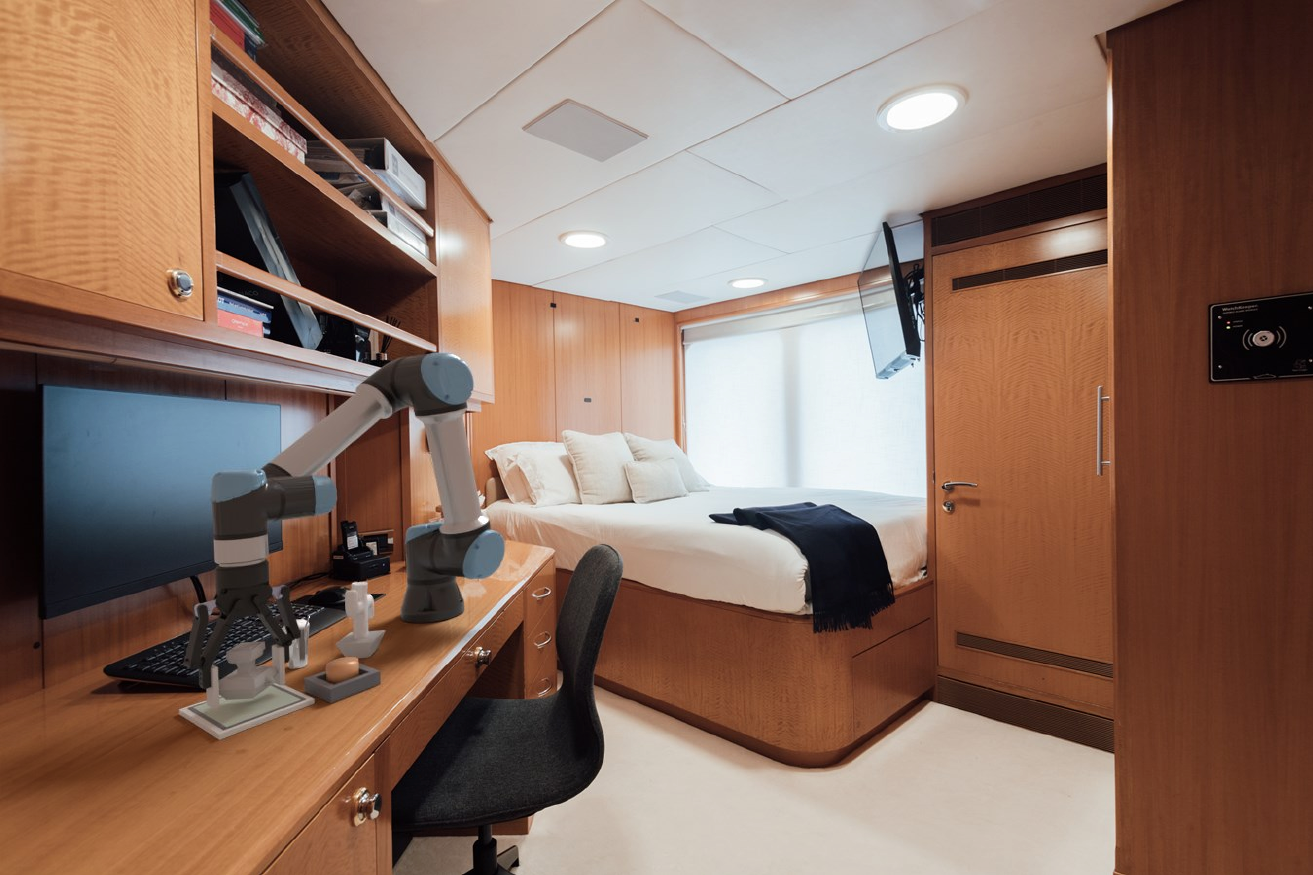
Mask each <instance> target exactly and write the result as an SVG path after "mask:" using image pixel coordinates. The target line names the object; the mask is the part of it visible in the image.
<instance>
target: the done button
mask: <svg viewBox="0 0 1313 875" xmlns="http://www.w3.org/2000/svg"><path fill="white" fill-rule="evenodd" d="M358 663H359V658H356V657H345V656H344V657H340V658H335V659H333V660H331V661H329V662H327V663H326V665H325V671H326V682H329V683H331V684H333V685H335V684H338V683H341V682H343V681H346V680H349V679H352V678H354V677H357V676H359V666H358Z"/></svg>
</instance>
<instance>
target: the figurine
mask: <svg viewBox="0 0 1313 875" xmlns="http://www.w3.org/2000/svg"><path fill="white" fill-rule="evenodd" d="M368 585H369V584H368V582H367V581H359V582H358V581H354V582H352V583H351V589H350V590H347V591H346V592H345V594H344V602H345V608H344V609H345V614H346V616H347V617H348V618H351V619H352V620H353V631H351V632H349V633H348V634H347V635H345V636H344V637H342V638H341V639H340V640H339V641H337V642H336V643H335V646H336V647H337V648H338V649H339V651H340V652H341V654H342V655H343V656H344V657H356V658H358V659H369V658H370V657H371V656H372V655H373V654H375V652H377V651H378V649H379V646H380V644H381V642H382V639H383V637H384V635H385V633H386V630H385V629H383V630H380V629H379V630H369V620H372V619H373V618H374V617H375V600H374V597H373V596H372V595H371V594H370V593H368Z"/></svg>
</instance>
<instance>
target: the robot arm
mask: <svg viewBox="0 0 1313 875" xmlns="http://www.w3.org/2000/svg"><path fill="white" fill-rule="evenodd" d="M474 386H475V385H474V376H473V373H472V371H471V369H470V367H469V366H468V364H467V363H466V362H465V360H463V359H462V358H461V357H459V356H458V355H456V354H454V353H449V352H432V353H427V354H418V355H412V356H410V355H409V356H402V357H398V358H396V359H393V360H392V361H389V362H388V363H386V364H385V365H383V366H382V367H380V368H379V369H378V370H376V371H375V372H373V373H372V374H371V375H370V376H368V377H367V378H366V379H364V380H363V381H362V382H361V383H359V384H358V385H357V386H356V387H355V390H354V392H355V393H354V394H353V395H352V396H350V397H349V398H348V399H347V400H346V401H344V403H342V404H340V405H339V406H338V407H337V408H335V410H333V411H332V412H330V413H329V414H328V415H327V416H326V417H324V418H322V420H321V421H319V422H318V423H317V424H316V425H314V426H313V427H312V428H310V429H309V430H308V431H306V432H305V433H304V434H303V435H301V436H300V437H299V438H297V440H295V441H294V442H293V443H292V444H290V445H289V446H287V447H286V448H285V449H284V450H283V451H281V452H280V453H279V454H278V455H276V456H275V457H274V458H273V459H271V460H270V461H269V462H268V463H266V464H265V465H263V467H261V468H259V469H258V468H257V469H256V468H253V469H252V468H251V469H233V470H222V471H221V470H220V471H217V472H216V473H214V474H213V476H212V479H211V490H210V491H211V492H210V493H211V495H210V496H211V497H210V502H211V509H212V510H211V512H212V527H213V528H212V530H213V556H214V557H213V558H214V563H216V564H217V565H216V566H215V567H214V580H215V582H214V584H215V587H214V588H215V594H214V596H213V599H211V600H209V601H205V602H202V603H200V602H196V603H194V604H193V605H192V614H193V622H192V626H191V630H190V634H189V640H188V644H187V645H186V646H187V647H186V652H185V657H184V660H183V665H184V666H185V667H187V668H189V669H190V670H195V669H197V670H198V679H199V680H198V684H199V687H200V688H202V689H203V690H206V700H207V705H208V706H210V707H212V708H213V709H215V708H218V707H219V696H220V695H219V683H218V681H219V667H218V666H217V665H214V663H215V660H216V658H217V656H218V654H219V652H220V650H221V647H222V646H223V644H224V641H225V640H226V638H227V635H228V633H229V632H230V629H231V628H232V627H233V626H234V624H235V622H236V621H238V620H242V619H244V618H247V617H255V616H257V617H258V619H259V620H260V621H261V623H262V624H263V625H264V626H265V628H266V629H267V631H268V633H269V634H270V635H271V636H272V638H273V639H274V640H275V642H276V644H272V645H271V657H272V658H271V659H272V660H271V661H272V666H275V667H276V668H277V669H278V673H277V675H276V677H275V678H274V679H275V683H276V684H278V685H280V686H281V685H286V671H285V664H288V662H289V659H290V657H289V646H291V644H292V641H293V640H294V639H298V638H299V637H300V636H301V633H300V630H299V627H298V624H297V621H296V620H297V618H296V615H295V612H294V609H293V606H292V603H291V600H290V597H291V588H290V586H288V585H285V584H279V585H277V586H271V584H270V561H269V560H268V559H266V558H268V557H269V537H268V533H269V531H268V529H269V528H268V524H269V523H273V522H274V523H275V522H279V521H280V522H281V521H286V520H287V521H288V520H293V519H303V518H310V517H313V518H315V517H318V516H320V515H325V514H330V512H331V511H333V509H334V508H335V507H336V505H337V501H338V494H337V493H338V491H337V487H336V483H335V482H334V481H333V480H332V478H331V477H329V476H328V475H325V474H324V475H323V474H320V475H319V474H318V473H319V472H320V471H322V470H323V469H324V468H325V467H326V466H327V465H328V464H329V463H331V462H332V461H333V460H334V459H335V458H336V457H337V456H339V454H341V453H342V452H344V451H345V450H346V449H347V448H348V447H349V446H350V445H351V444H352V443H354V442H355V441H356V440H357V439H359V438H360V437H361V436H362V435H363V434H364V433H366V432H367V431H368V430H369V429H370V428H372V426H374V425H375V424H376V423H377V422H379V420H381V419H383V420H384V419H388V418H390V417H391V416H393V414H394V413H396V412H399V411H400V410H403V409H406V408H409V407H413V413H414V417H415V418H416V419H418V420H419V421H421V422H422V423H423V425H424V426H423V427H424V430H425V435H426V439H427V444H428V449H429V454H430V458H431V464H432V468H433V473H434V477H435V482H436V486H437V491H438V497H439V501H440V507H441V510H442V514H443V515H442V516H443V521H435V522H429V523H428V522H427V523H422V524H417V525H413V526H409V527H408V528H407V529H406V531H405V542H404V545H405V564H406V590H405V593H404V597H403V600H402V604H401V606H400V619H401V620H402V621H403V622H407V623H415V624H416V623H419V624H424V623H433V622H439V621H445V620H448V619H452V618H455V617H458V616H459V615H461V614H462V613H464V612H465V600H464V598H463V595H462V592H461V590H460V587H459V585H458V582H457V577H459V578H463V579H464V578H465V579H467V580H483V579H484V580H485V579H488V578H490V577H491V576H493V575H494V574H495V573H496V571H498V569H499V568H500V567H501V563H502V562H503V560H504V557H505V551H506V544H505V539H504V537H503V536H502V534H500V533H499V532H498V531H497V530H494V529H492V524H491V521H490V517H489V516H488V515H487V514H484V513H483V512H482V509H481V504H480V499H479V493H478V488H477V483H476V478H475V473H474V467H473V463H472V458H471V452H470V447H469V442H468V438H467V437H468V436H467V433H466V432H467V431H466V428H465V423H464V418H463V417H464V414H465V413H466V411H467V410H468V404H467V403H468V402H467V401H468V400H469V399H470V398H471V396H472V394H473V393H472V391H474ZM317 474H318V475H317ZM271 596H272V597H273V598H274V599H275V602H276V605H277V608H278V612H279V614H280V618H281V620H282V624H283V627H285V630H286V633H287V634H285V632H284V631H283V627H281V625H280V624H279V623H278V621H277V620H276V618H275V617H274V616H273V614H272V611H271V610H270V608H269V607H268V606H267V602H268V601H269V599H270V598H271ZM214 608H216V609H217V610H218V611H220V613H219V615H218V617H217V618H216V624H215V626H214V628H213V630H212V632H211V634H210V636H209V638H208V640H207V642H206V644H205V641H206V640H205V639H206V634H207V631H208V626H209V621H210V616H211V614H213V610H214ZM204 644H205V646H204Z"/></svg>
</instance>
